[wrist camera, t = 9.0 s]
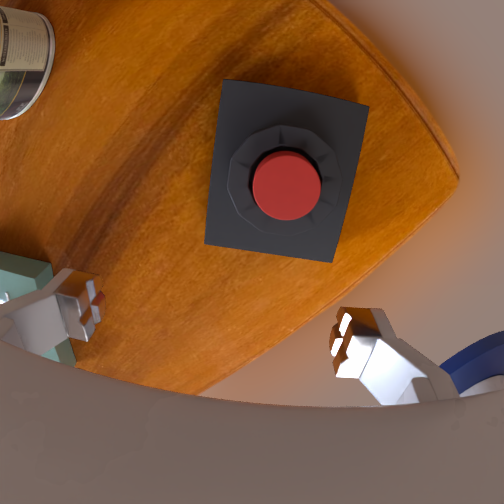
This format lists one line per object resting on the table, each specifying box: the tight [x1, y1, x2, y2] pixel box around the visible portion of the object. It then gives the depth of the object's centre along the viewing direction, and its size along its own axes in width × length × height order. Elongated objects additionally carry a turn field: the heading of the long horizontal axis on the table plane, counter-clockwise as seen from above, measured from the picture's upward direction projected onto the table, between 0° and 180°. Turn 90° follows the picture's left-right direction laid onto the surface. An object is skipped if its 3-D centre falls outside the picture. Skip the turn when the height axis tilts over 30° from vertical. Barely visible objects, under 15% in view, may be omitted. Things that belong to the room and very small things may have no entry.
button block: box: [204, 79, 369, 263], centre depth 19 cm, size 11×9×4 cm
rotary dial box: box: [0, 251, 76, 367], centre depth 27 cm, size 14×10×3 cm
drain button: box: [253, 151, 321, 220], centre depth 17 cm, size 4×4×2 cm
